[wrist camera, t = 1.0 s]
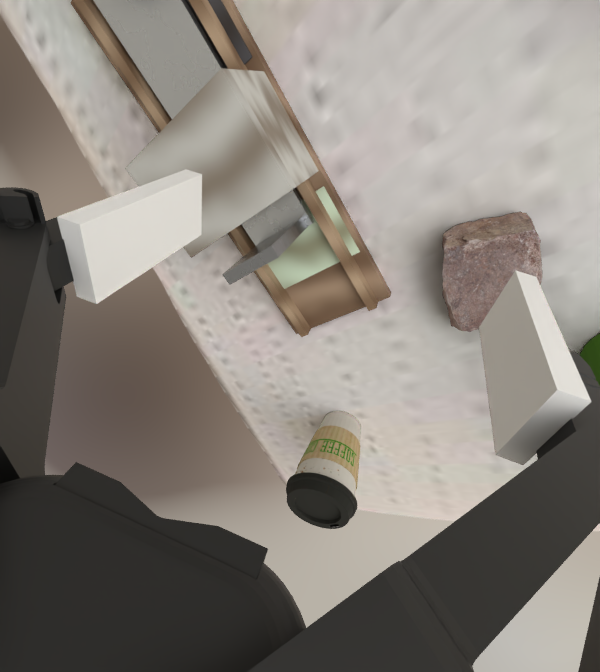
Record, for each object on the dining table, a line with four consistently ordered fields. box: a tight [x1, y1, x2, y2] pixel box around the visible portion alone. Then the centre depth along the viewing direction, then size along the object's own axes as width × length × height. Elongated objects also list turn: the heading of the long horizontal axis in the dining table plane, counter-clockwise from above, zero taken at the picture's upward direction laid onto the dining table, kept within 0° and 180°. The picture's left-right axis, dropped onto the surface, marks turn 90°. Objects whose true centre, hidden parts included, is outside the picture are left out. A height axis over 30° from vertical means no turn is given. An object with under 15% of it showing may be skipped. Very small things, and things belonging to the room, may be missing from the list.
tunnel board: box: [71, 0, 391, 337], centre depth 36 cm, size 42×14×10 cm, turn 33°
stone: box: [442, 212, 542, 332], centre depth 37 cm, size 9×12×5 cm
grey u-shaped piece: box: [93, 0, 314, 284], centre depth 33 cm, size 30×8×10 cm, turn 33°
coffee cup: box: [286, 411, 361, 529], centre depth 53 cm, size 10×10×15 cm
